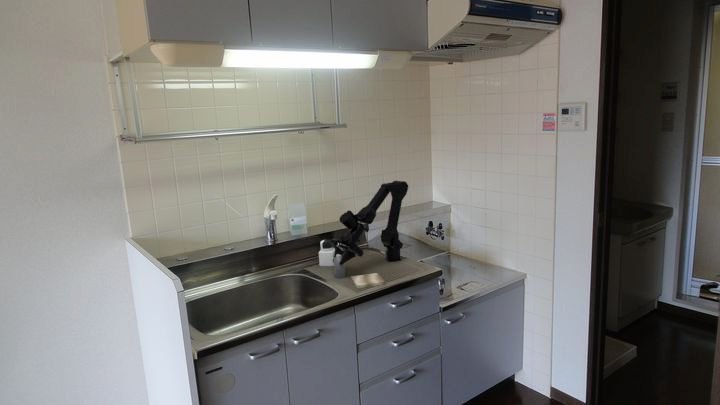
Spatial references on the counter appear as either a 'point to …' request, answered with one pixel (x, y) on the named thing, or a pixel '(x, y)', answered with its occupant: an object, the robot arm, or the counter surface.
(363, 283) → the birch board
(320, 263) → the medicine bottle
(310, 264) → the counter surface
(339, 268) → the white-capped grey cylinder
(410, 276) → the counter surface
